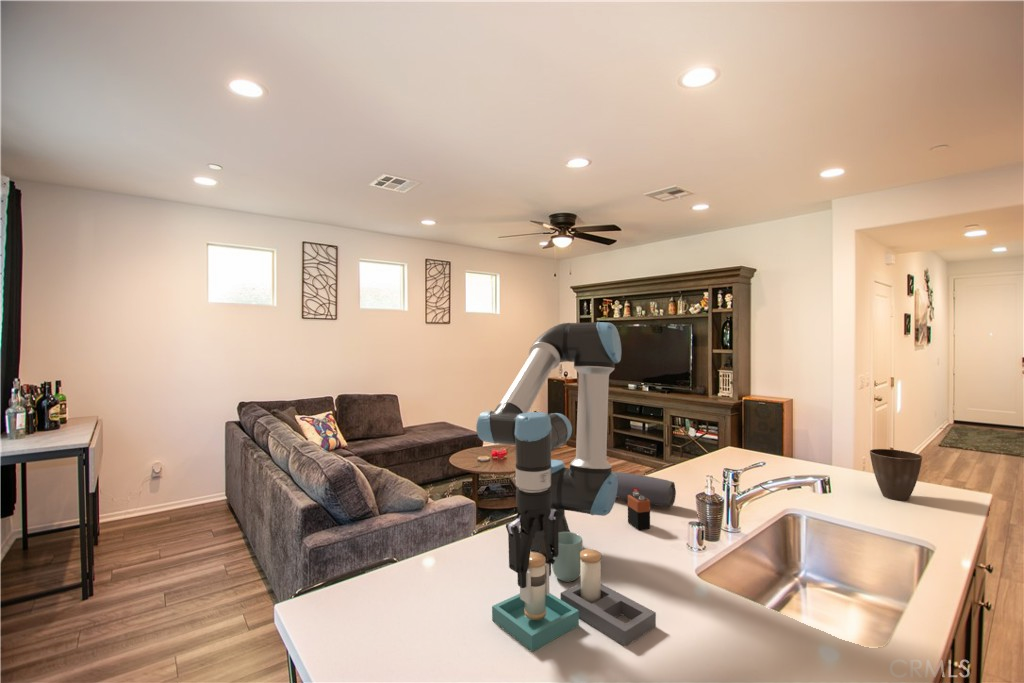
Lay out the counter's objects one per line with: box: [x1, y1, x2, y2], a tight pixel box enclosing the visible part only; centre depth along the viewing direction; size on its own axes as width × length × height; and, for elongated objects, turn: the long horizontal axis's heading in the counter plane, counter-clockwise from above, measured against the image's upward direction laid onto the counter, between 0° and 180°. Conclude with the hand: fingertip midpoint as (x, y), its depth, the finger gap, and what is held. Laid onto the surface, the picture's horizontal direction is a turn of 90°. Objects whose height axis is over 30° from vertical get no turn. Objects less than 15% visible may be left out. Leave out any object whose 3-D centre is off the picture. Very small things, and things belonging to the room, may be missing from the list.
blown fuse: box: [524, 552, 546, 620], centre depth 101 cm, size 5×5×12 cm
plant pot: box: [869, 448, 923, 501], centre depth 173 cm, size 15×15×16 cm
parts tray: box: [491, 592, 580, 652], centre depth 101 cm, size 13×13×3 cm
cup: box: [551, 531, 584, 583], centre depth 120 cm, size 8×8×10 cm
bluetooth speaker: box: [611, 471, 677, 507], centre depth 171 cm, size 23×9×10 cm, turn 55°
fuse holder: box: [560, 582, 657, 648], centre depth 103 cm, size 18×10×3 cm, turn 38°
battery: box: [627, 492, 651, 531], centre depth 151 cm, size 4×7×10 cm, turn 16°
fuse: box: [580, 548, 602, 604], centre depth 107 cm, size 5×5×12 cm
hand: (534, 596), depth 101 cm, fingers closed on blown fuse, 4 cm apart
